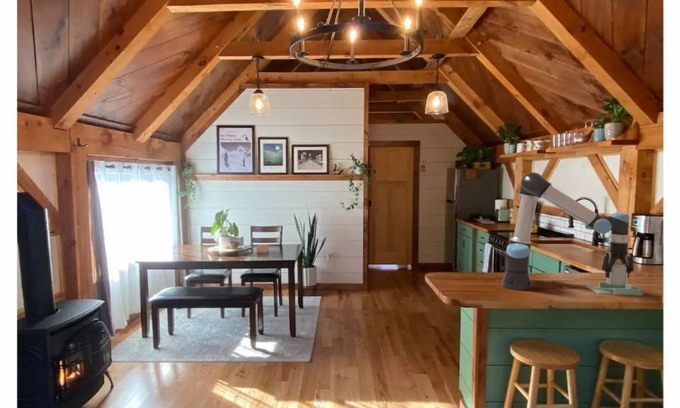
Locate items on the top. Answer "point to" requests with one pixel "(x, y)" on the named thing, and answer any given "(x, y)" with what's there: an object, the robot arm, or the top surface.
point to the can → (618, 274)
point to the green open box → (621, 289)
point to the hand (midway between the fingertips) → (616, 283)
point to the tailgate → (598, 290)
